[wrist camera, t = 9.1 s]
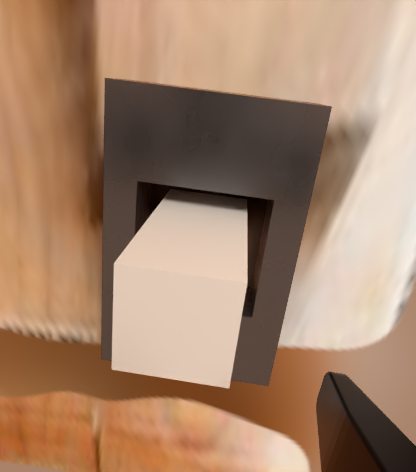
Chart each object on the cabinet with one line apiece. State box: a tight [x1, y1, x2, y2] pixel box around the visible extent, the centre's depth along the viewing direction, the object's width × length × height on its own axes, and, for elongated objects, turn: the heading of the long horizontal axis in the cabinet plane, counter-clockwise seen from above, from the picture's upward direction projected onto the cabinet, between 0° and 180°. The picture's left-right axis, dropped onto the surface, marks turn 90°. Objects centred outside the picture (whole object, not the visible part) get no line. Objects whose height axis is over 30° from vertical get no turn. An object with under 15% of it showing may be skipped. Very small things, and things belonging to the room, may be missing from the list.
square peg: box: [112, 189, 247, 388], centre depth 16 cm, size 4×4×9 cm
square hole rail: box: [101, 78, 332, 386], centre depth 19 cm, size 14×9×3 cm, turn 173°
